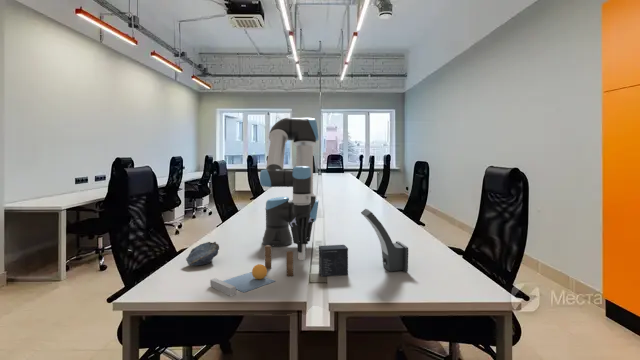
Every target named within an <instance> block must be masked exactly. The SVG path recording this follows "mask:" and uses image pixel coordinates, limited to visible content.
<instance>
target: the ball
mask: <svg viewBox="0 0 640 360" xmlns="http://www.w3.org/2000/svg"><path fill="white" fill-rule="evenodd" d="M251 272H252V275H253V277H254V278H255V279H258V280H260V279H263V278H264V277H267V274H268V269H266V267H265V264H262V263H258V264H256V265H254V266H253V267H252V270H251Z"/></svg>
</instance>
